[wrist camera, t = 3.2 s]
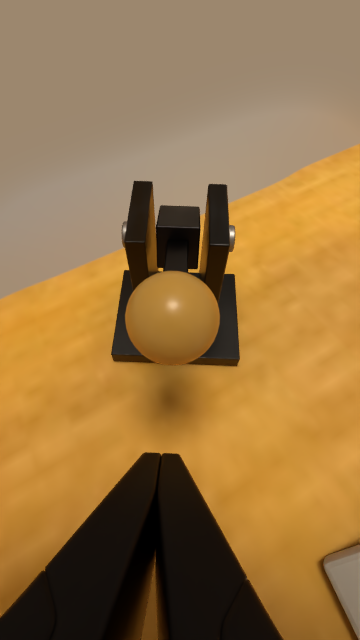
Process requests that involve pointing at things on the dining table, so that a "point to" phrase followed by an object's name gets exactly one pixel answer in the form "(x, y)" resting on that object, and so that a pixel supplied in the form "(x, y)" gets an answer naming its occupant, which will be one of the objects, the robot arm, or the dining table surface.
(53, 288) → the dining table surface
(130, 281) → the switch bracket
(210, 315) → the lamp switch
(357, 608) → the light switch
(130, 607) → the robot arm
